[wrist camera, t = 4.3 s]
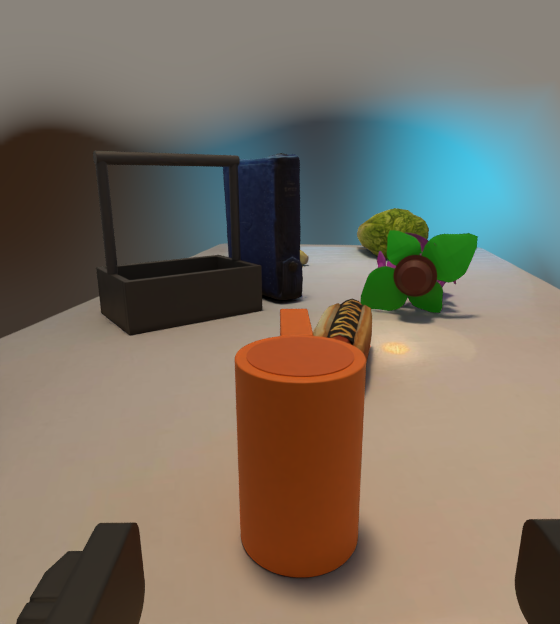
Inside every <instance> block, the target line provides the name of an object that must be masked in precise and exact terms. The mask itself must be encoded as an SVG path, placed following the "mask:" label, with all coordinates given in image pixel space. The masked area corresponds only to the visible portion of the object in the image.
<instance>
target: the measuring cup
mask: <svg viewBox="0 0 560 624" xmlns="http://www.w3.org/2000/svg"><path fill="white" fill-rule="evenodd" d="M365 374H366V358H365V355H364V354H363V352H362V351H361V350H360V349H358V348H357V347H355V346H353V345H351V344H348V343H346V342H343V341H340V340H336V339H332V338H326V337H319V336H313V332H312V328H311V323H310V319H309V315H308V311H307V309H280V336H278V337H272V338H266V339H262V340H259V341H255V342H253V343H250V344H248V345H246V346H244V347H243V348H241V349H240V350H239V351H238V352H237V354H236V356H235V382H236V411H237V440H238V470H239V499H240V528H241V540H242V543H243V546H244V548H245V550H246V552H247V553H248V554H249V556H250V557H251V558H252V559H253V560H254V561H255V562H256V563H257V564H259V565H260V566H262V567H263V568H265V569H267V570H269V571H271V572H274V573H276V574H280V575H284V576H289V577H301V578H303V577H313V576H319V575H322V574H326V573H328V572H331V571H333V570H335V569H337V568H338V567H340V566H341V565H342V564H344V563H345V562H346V561H347V560H348V559H349V558H350V556H351V555H352V553H353V552H354V550H355V548H356V545H357V541H358V522H359V501H360V480H361V459H362V437H363V416H364V395H365Z"/></svg>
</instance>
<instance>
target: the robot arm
mask: <svg viewBox="0 0 560 624" xmlns="http://www.w3.org/2000/svg"><path fill="white" fill-rule="evenodd" d="M515 590H516V596H517V600H518V603H519V606H520V609H521V611H522V613H523V615H524V617H525V619H526V621H527V622H528V624H560V519H529V520H527V521H526V522H525V523H524V525H523V530H522V536H521V543H520V549H519V556H518V562H517V568H516V575H515ZM144 593H145V580H144V571H143V561H142V552H141V543H140V533H139V527H138V525H137V523H99V524H98V525H97V526H96V527H95V529H94V531H93V533H92V534H91V536H90V538H89V540H88V542H87V544H86V546H85V548H84V549H83V551H68V552H67V553H66V554H65V555H64V556H63V557H62V558H60V559H59V560H58V561H57V562H56V563H55V564H54V565H53V566H52V567H51V568H50V569H48V570H47V571H46V572H45V574H44V575H43V577H42V579H41V580H40V582H39V584H38V585H37V587H36V589H35V590H34V592H33V594H32V595H31V597H30V602H29V603H27V604H26V605H25V607H24V609H23V610H22V612H21V614H20V615H19V617H18V619H17V623H16V624H139V621H140V617H141V613H142V609H143V603H144Z"/></svg>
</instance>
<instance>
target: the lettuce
mask: <svg viewBox="0 0 560 624" xmlns="http://www.w3.org/2000/svg"><path fill="white" fill-rule="evenodd" d="M390 230H396V231H400V232H403V233H413V234H417V235H419V236H422V237H423V238H425V239H428V231H429V228H428V226H427V224H426V222H425V221H424V220H423V219H422V218H421V217H418V216H416V215H413V214H412V213H411V212H409V211H408V210H403V209H396V208H394V209H390V210H387V211H384V212H381V213H379V214H376V215H374V216H373V217H372V218H370V219H369V220H367V221H366V222H365V223H363V224H362V225H361V226H360V227H359V228H358V232H357V237H358V239H359V241H360V242H361V244H362V246H363V247H365V248H367V249H369V250H370V251H371V252H372V253H373V254H374V255H376V256H378V254H379V251H381V252H382V253H383V255H384V257H385V258H387V236H388V233H389V231H390ZM420 244H421V243H420Z"/></svg>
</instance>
